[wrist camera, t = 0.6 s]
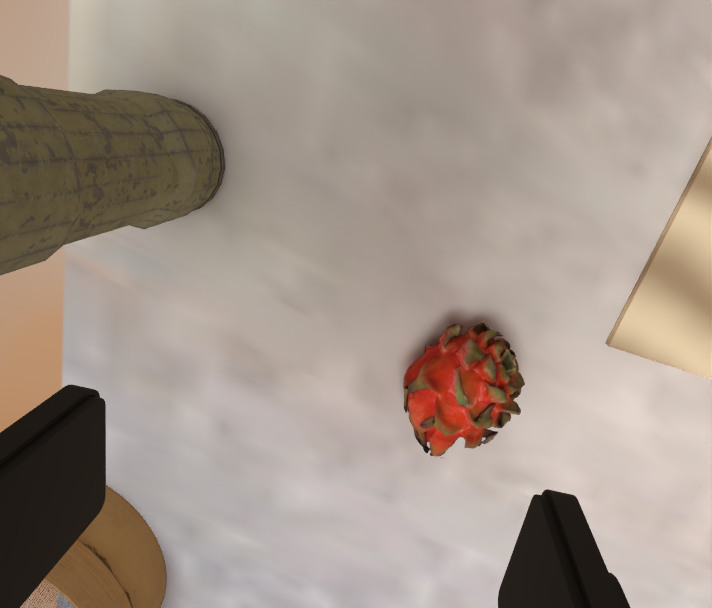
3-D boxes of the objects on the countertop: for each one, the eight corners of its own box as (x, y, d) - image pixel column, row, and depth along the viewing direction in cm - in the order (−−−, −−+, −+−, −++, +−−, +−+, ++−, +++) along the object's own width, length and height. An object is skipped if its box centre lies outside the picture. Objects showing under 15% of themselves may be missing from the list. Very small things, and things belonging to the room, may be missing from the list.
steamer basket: (207, 532, 51) (148, 637, 40) (128, 670, 60) (64, 787, 49) (-14, 415, 50) (-133, 491, 39) (-61, 573, 59) (-169, 670, 48)
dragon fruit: (503, 302, 41) (433, 403, 47) (425, 290, 37) (358, 403, 42) (574, 375, 36) (484, 481, 41) (491, 372, 31) (403, 491, 37)
